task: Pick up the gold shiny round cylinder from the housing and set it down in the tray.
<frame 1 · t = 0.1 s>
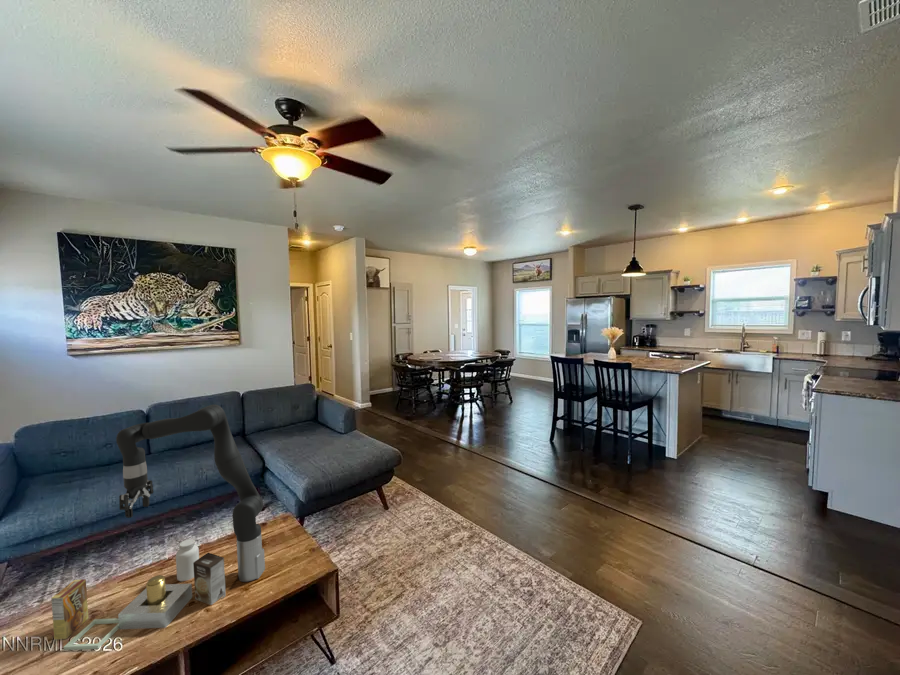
hand: (138, 511, 154), 29 cm above the table, fingers open, 8 cm apart
gold shiny round cylinder: (157, 612, 137), point 1 cm above the table, touching housing
pill bottle: (188, 577, 157), on the table
coffee box: (210, 599, 144), on the table
tray: (96, 637, 127), on the table
housing: (157, 614, 137), on the table
candy box: (72, 629, 131), on the table
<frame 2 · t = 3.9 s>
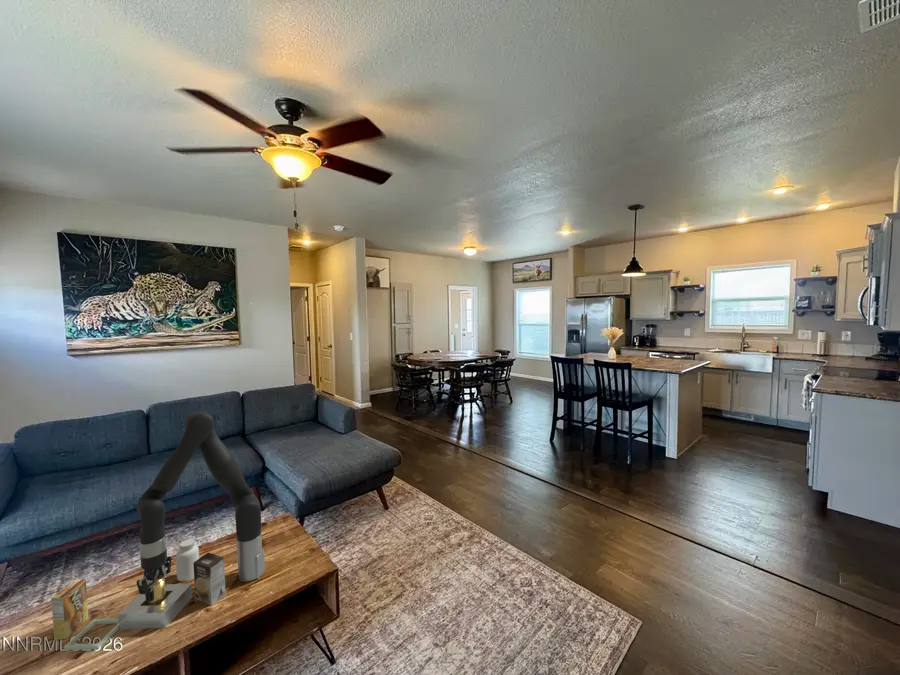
hand: (156, 594, 136), 8 cm above the table, fingers closed on gold shiny round cylinder, 5 cm apart
gold shiny round cylinder: (157, 612, 137), point 1 cm above the table, touching gripper, housing
everything else where it was.
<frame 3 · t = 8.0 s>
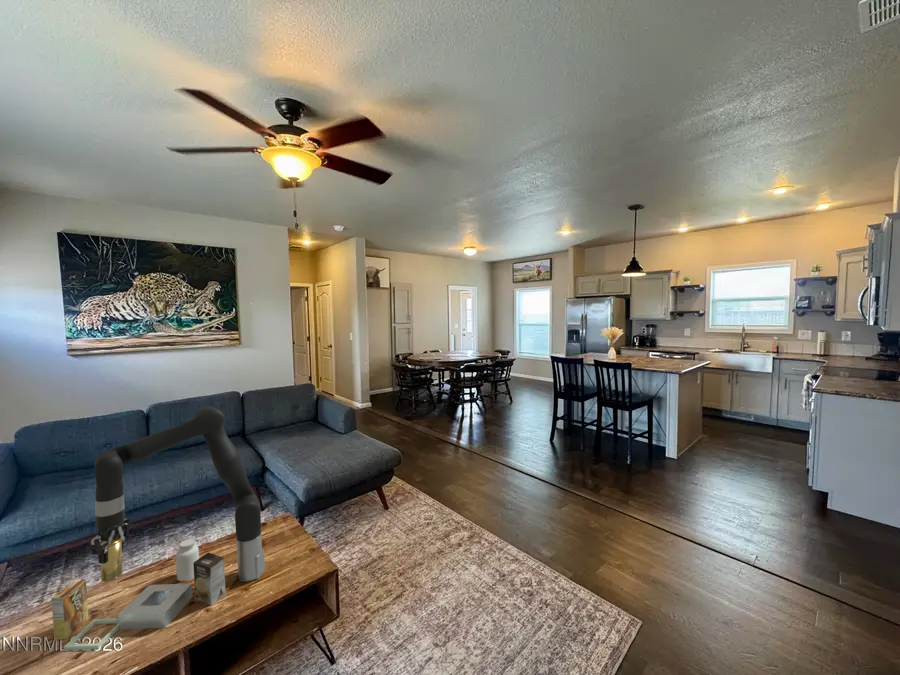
hand: (111, 557, 129), 27 cm above the table, fingers closed on gold shiny round cylinder, 5 cm apart
gold shiny round cylinder: (112, 576, 129), point 20 cm above the table, touching gripper
everything else where it was.
when the fingers open (9 cm above the table, at t = 11.9 s): gold shiny round cylinder drops 1 cm, resting on tray.
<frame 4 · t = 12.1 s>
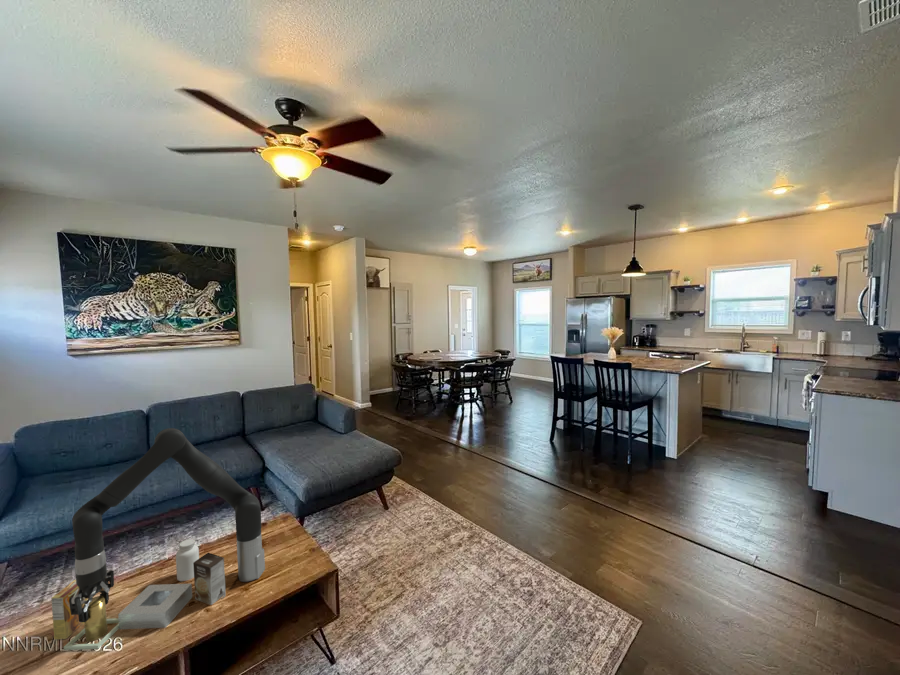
hand: (94, 612, 127), 9 cm above the table, fingers open, 7 cm apart
gold shiny round cylinder: (96, 635, 127), point 1 cm above the table, touching tray
everything else where it was.
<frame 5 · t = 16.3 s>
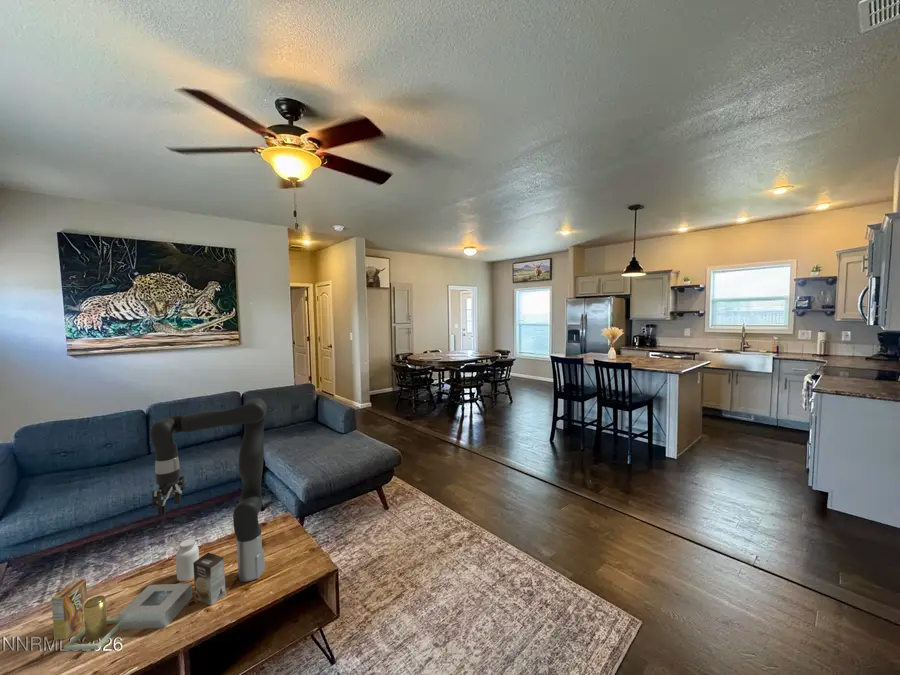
hand: (170, 508, 146), 34 cm above the table, fingers open, 8 cm apart
nothing on the table moved.
at the end: gold shiny round cylinder inside the target area on the tray (0.1 cm from its centre), point 0.6 cm above the tray's base; gold shiny round cylinder tilted 1°; gold shiny round cylinder touching tray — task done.
